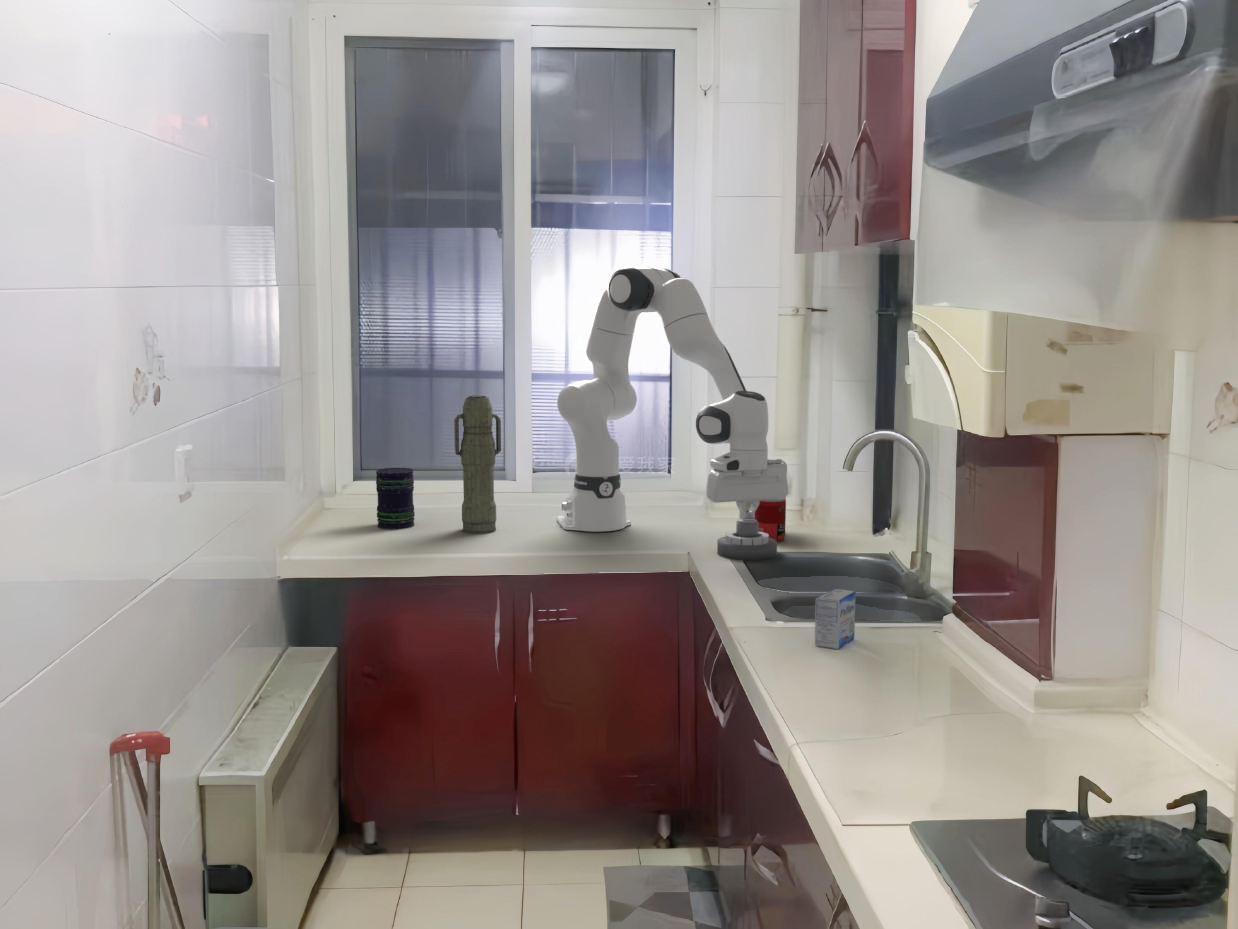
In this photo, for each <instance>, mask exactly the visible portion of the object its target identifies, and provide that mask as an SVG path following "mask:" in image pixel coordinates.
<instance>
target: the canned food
mask: <svg viewBox="0 0 1238 929" xmlns="http://www.w3.org/2000/svg"><path fill="white" fill-rule="evenodd" d="M786 497H787V496H786ZM786 497H785V498H777V499H763V500H759V506H758V508H757V509H756V511H755V518H754V519H755V520H757V521H758V522H759V526H758V532H764V533H767V534H769V538H772V539H775V540H776V541H777V543H782V542H784V541H785V539H786V520H787V519H786V516H787V515H786V514H787V512H786V511H787V498H786Z"/></svg>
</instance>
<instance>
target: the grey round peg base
mask: <svg viewBox="0 0 1238 929" xmlns="http://www.w3.org/2000/svg"><path fill="white" fill-rule="evenodd" d="M716 543H717V548H716V549H717V550H716V551H717V552H716V553H717V555H719V556H720V557H723V556H724V558H726V557H727V559H731V558H732V559H733V558H734V559H733V560H740V559H742V560H741V561H743V560H745V561H758V560H768V559H772V558H775V557H777V555H776V554H778V542H777V541H776V540H775V539H772V538H769V534H767V533H764V532H758V537H754V538H743V537H736V530H733V531H728V532H726V533H725V536H721V537H720V538H718V539H717V542H716Z"/></svg>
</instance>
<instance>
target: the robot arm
mask: <svg viewBox="0 0 1238 929" xmlns="http://www.w3.org/2000/svg"><path fill="white" fill-rule="evenodd" d="M599 296H600V297H599V298H598V301H597V304H596V307H595V309H594V313H593V317H592V322H591V326H590V332H589V337H588V341H587V344H586V345H587V346H586V351H585V353H586V356H587V359H588V360H589V361H590V362H591V364H592V369H593V370H592V371H593V376H592V380H580V381H576V382H573V383H570V384H569V385H566V386H565V387H563V388H562V389H561V391H560V392H559V393H558V396H557V403H556V404H557V409H558V412H559V414H560V416H561V417H562V418H563V419H564V420H565V421H566V423H567V424H568V425H569V427H570V429H571V431H572V435H573V439H574V442H575V450H576V452H575V453H576V474H575V476H574V481H573V482H574V483H573V487H574V489H573V490H572V491H571V493H570V494H569V495H568V496H567V498H565V501H563V502H561V511H563V512H564V514H563V515H558V516H557V517H556V521H557V522H558V524H559V525H560V526H561V527H562V529H564V530H567V531H580V532H581V531H582V532H612V531H618V530H622V529H624V528H625V527H629V526H631V525H632V521H631V520H629V519H627V509H626V508H627V507H626V497H625V494H624V493H623V491H621V489H620V488H621V483H622V482H621V481H622V480H621V474H620V473H619V471H620V467H619V466H620V465H619V464H620V463H619V462H620V456H619V455H620V454H619V453H620V452H619V451H620V447H619V444H618V443H617V441H616V440H615V439H614V438H612V436H611V433H610V431H609V426H608V421H616V420H619V419H622V418H624V417H626V416H628V415H630V414H631V413H632V412H633V411H634V410H635V408H636V405H637V402H638V401H637V400H638V397H637V392H636V389H635V388H634V386H633V385H632V384H631V381H630V375H629V374H630V373H629V360H630V354H631V348H632V342H633V338H634V334H635V328H636V324H637V321H638V320H637V319H638V317H639V316H640V314H641V313H655V312H656V313H658V315H659V317H660V320H661V323H662V326H663V329H664V333H665V336H666V339H667V342H668V344H669V345H670V347H671V349H672V351H673V352H674V354H676V355H677V356H679V357H680V358H681V359H684V360H685V361H689V362H692V363H693V364H695V365H697V366H699V367H701V368H703V369H704V370H706V371H707V372H708V373H709V375H711V377H712V379H713V380H714V382H715V383H714V384H715V385H716V387H717V390H718V392H719V394H720V396H721V398H722V400H721V401H718V402H714V403H711V404H708V405H705V406H703V407H702V408H701V409H700V410H699V411H698V413H697V415H696V418H695V429H696V433H697V435H698V436H699V438H700V439H701V440H702V441H703V442H704V443H707V444H710V445H721V444H729V452H727V453H724V454H722V455H720V456H717V457H715V458H712V459H711V460H710V461H709V462H710V464H709V465H710V468H711V471H709V474H708V477H707V484H706V497H707V499H708V500H709V501H710V502H712V503H715V504H718V503H730V502H732V503H733V502H735V505H736V507H737V508H738V510H740V518H741V519H743V520H745V519H754V518H755V511H756V509H757V508H758V506H759V500H763V499H777V498H785V497H787V496H788V495H789V486H788V485H789V484H788V482H789V481H788V475H787V474H788V464H787V463H786V461H784V460H782V459H779V458H778V459H777V458H776V459H768V456H769V454H768V452H769V451H768V450H769V446H768V443H767V437H768V434H769V433H768V432H769V407H768V402H767V399H766V397H765V396H764V395H762V394H761V393H759V392H755V391H749V390H747V389H746V387H745V384H744V382H743V380H742V378H741V375H740V374H739V372H738V369H737V367H736V364H735V362H734V360H733V358H732V356H731V354H730V352H729V351H728V349H727V348H726V346H725V344H723V342H722V341H721V340H720V338H719V337H718V335H717V333H716V331H715V329H714V327H713V325H712V323H711V320H710V317H709V315H708V312H707V309H706V307H705V305H704V301H703V300H702V297H701V296H700V293H699V292H698V289H697V288H696V286H695V285H694V284H693V282H692V281H691V280H689V279H687V278H683V277H681V276H680V275H679V274H678V273H677V272H675V271H673V270H671V269H668V268H659V267H655V266H654V267H653V266H644V267H643V266H641V267H640V266H639V267H633V266H628V267H624V268H620V269H618V270H616V271H615V272H614V273H613V274H612V275H611V276H610V279H609V280H608V284H607V287H606V288H604V289H603V290H602V292H601V294H600V295H599ZM748 500H750V503H751V507H750V509H749V511H746V510H745V508H744V506H743V505H746V501H748Z"/></svg>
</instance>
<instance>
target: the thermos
mask: <svg viewBox="0 0 1238 929" xmlns="http://www.w3.org/2000/svg"><path fill="white" fill-rule="evenodd" d="M493 418H494V419H495V434H496V435H495V439H494V436H493V433H494V432H493V428H492V427H493ZM461 419H462V427H463V432H462V438H461V439H462V440H461V443H460V425H459V424H460V420H461ZM453 422H454V423H453V424H454V431H453V432H454V452H455V455H456V456H459V457H460V461H461V462H460V463H461V466H462V469H463V470H462V478H463V501H462V504H461V522H462V532H464V533H466V534H467V533H468V534H490V533H494V532H496V530H497V528H496V521H497V505H496V502H495V501H496V500H495V489H494V488H495V485H494V484H495V483H494V480H495V479H494V478H495V476H494V473H495V472H494V468H495V464H496V456H497V455H499V454H500V453H501V451H502V434H501V433H502V425H501V424H502V422H501V418H500V417H499V416H498V415H497V414H496V413H495V414H494V413H493V407H492V402H491V400H490V397H488V396H487V395H468V397H465V398H464V402H463V406H462V413H460V414H457V416H456V417H455V418H454V421H453ZM495 442H496V443H495Z"/></svg>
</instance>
